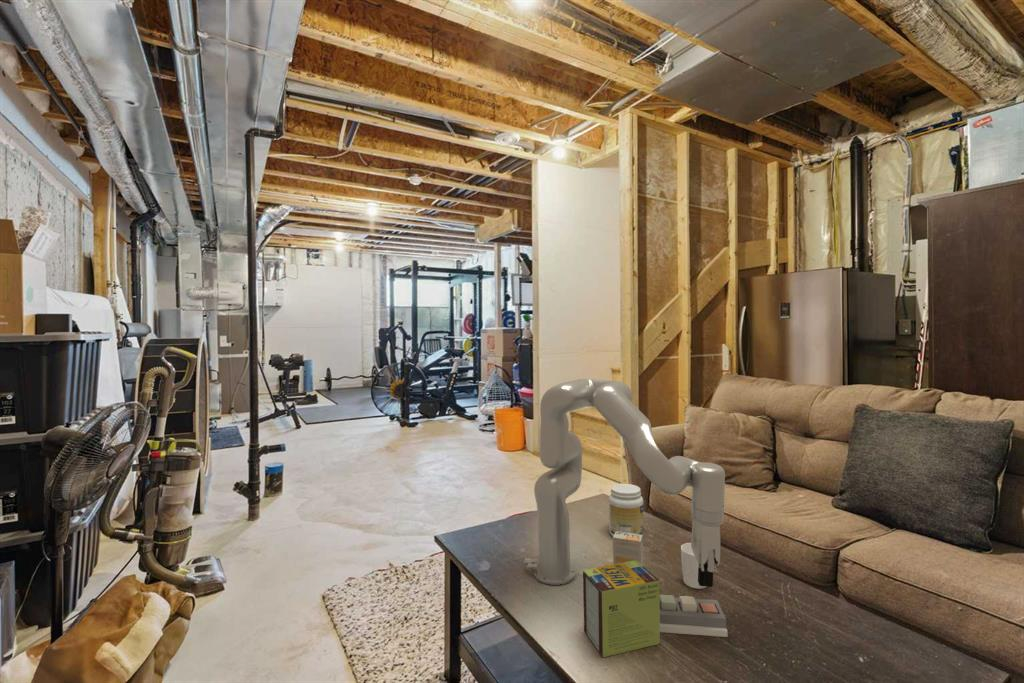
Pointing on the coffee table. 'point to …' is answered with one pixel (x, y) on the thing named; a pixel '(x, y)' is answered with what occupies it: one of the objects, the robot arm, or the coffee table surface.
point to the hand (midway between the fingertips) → (705, 584)
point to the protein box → (621, 607)
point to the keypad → (694, 620)
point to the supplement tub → (626, 509)
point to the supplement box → (627, 547)
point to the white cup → (690, 567)
